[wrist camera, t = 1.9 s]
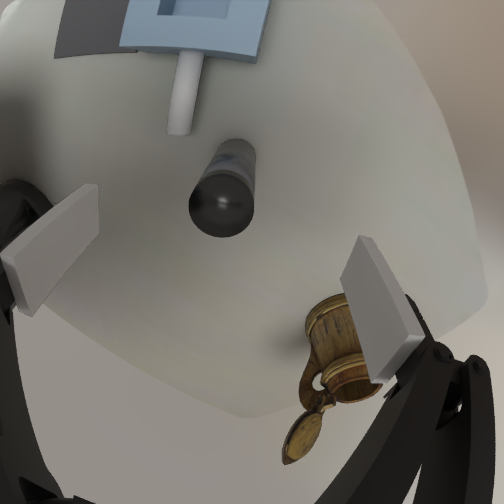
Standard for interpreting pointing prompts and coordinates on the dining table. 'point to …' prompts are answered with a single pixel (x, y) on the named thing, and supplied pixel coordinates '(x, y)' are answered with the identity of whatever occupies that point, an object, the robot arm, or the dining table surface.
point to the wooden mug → (328, 373)
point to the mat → (91, 28)
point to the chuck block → (194, 41)
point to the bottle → (226, 191)
